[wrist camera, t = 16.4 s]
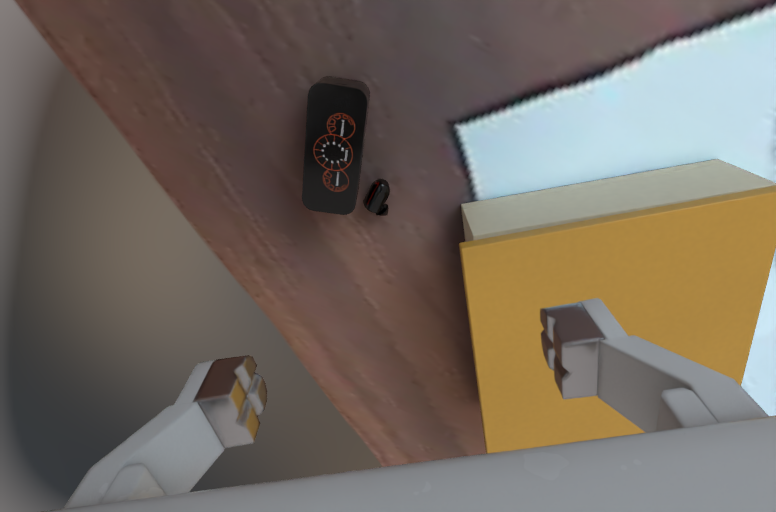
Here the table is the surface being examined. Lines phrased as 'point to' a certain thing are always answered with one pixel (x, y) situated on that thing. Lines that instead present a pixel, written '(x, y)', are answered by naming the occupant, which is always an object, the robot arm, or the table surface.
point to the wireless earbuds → (338, 149)
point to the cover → (613, 304)
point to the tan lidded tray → (605, 198)
